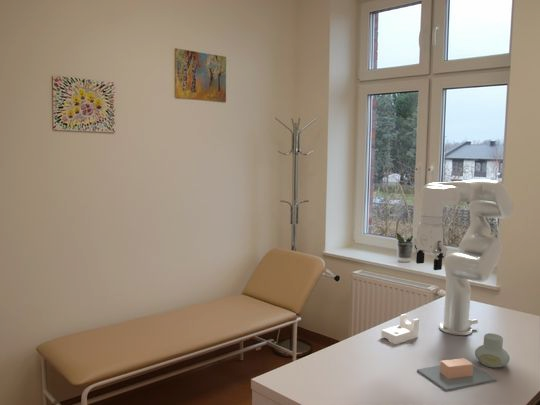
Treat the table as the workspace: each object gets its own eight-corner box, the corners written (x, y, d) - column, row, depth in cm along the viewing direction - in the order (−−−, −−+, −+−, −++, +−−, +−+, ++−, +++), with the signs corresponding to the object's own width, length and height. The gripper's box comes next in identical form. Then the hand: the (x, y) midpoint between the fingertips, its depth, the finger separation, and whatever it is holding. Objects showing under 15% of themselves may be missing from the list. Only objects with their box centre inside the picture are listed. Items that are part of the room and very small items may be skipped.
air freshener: (509, 363, 173) (512, 335, 171) (507, 372, 166) (509, 344, 164) (476, 355, 178) (478, 329, 177) (472, 364, 171) (474, 337, 170)
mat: (464, 362, 173) (464, 360, 173) (496, 380, 160) (496, 379, 160) (417, 371, 166) (417, 369, 166) (445, 391, 153) (446, 389, 153)
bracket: (403, 331, 200) (404, 313, 199) (418, 337, 194) (419, 319, 193) (381, 338, 193) (382, 319, 192) (395, 345, 187) (396, 325, 186)
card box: (439, 372, 164) (440, 360, 163) (463, 369, 166) (464, 358, 166) (447, 378, 159) (448, 366, 159) (472, 375, 162) (473, 364, 161)
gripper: (407, 217, 187) (405, 261, 190) (438, 225, 172) (436, 273, 174) (424, 216, 190) (421, 260, 192) (456, 224, 174) (453, 271, 176)
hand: (428, 266), depth 183 cm, fingers open, 9 cm apart
